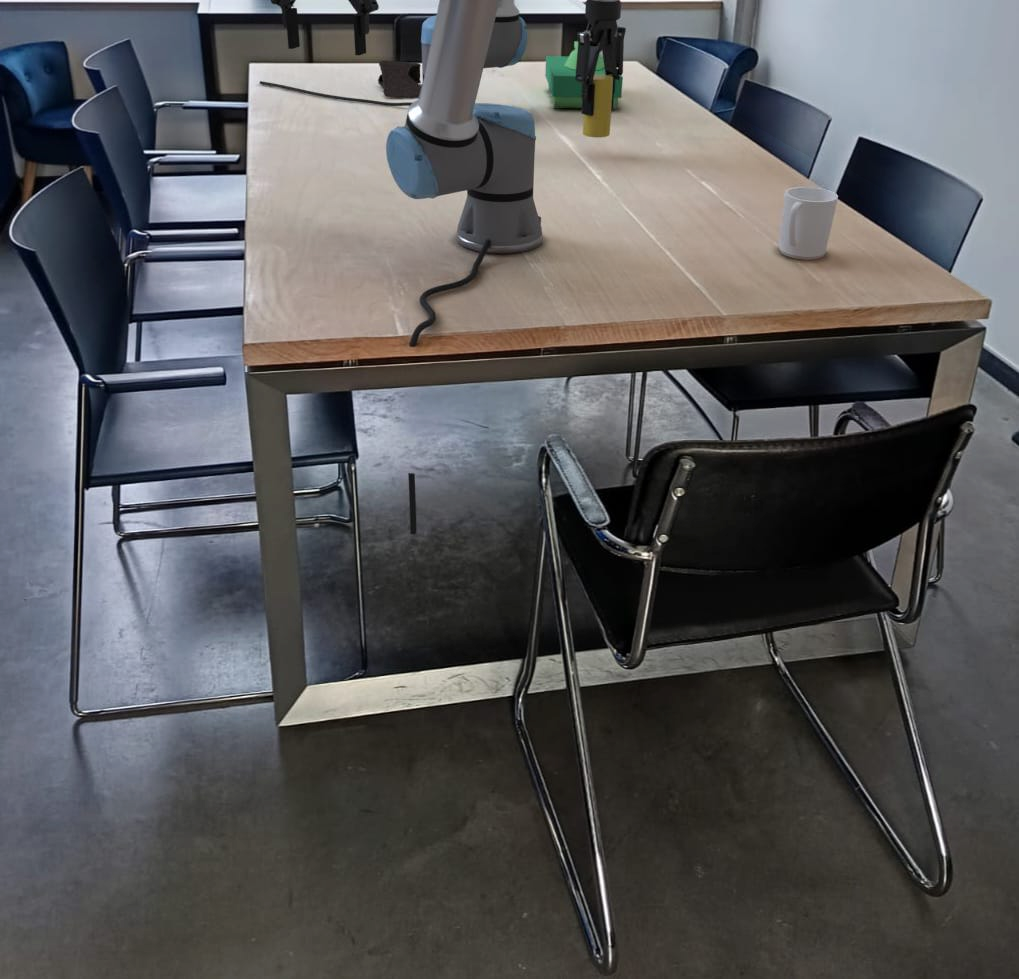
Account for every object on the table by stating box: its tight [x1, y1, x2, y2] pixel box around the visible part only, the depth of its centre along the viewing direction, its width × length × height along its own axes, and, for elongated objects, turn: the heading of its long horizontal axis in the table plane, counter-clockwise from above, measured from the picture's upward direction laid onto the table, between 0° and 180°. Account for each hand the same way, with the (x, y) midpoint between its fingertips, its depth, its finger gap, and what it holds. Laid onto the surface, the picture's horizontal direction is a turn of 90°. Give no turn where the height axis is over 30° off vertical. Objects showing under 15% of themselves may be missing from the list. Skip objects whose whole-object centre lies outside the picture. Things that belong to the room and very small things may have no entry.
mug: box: [778, 186, 839, 261], centre depth 190 cm, size 11×9×10 cm
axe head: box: [377, 59, 422, 99], centre depth 299 cm, size 18×8×15 cm
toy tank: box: [544, 40, 624, 109], centre depth 295 cm, size 18×12×35 cm
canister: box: [582, 75, 613, 138], centre depth 241 cm, size 6×6×12 cm
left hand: (597, 112), depth 242 cm, fingers closed on canister, 6 cm apart
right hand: (327, 51), depth 197 cm, fingers open, 13 cm apart
